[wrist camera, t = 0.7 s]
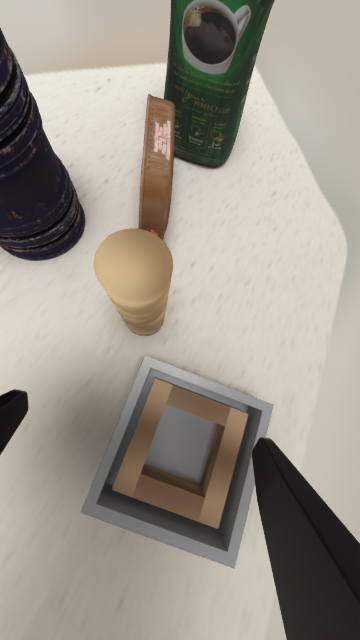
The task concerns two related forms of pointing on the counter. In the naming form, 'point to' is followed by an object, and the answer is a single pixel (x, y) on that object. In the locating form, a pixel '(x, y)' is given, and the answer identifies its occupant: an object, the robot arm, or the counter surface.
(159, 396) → the socket block
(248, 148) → the counter surface
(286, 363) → the counter surface
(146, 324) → the dowel
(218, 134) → the coffee jar
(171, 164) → the tin
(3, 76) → the dark blue cylinder
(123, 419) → the tray
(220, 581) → the counter surface
